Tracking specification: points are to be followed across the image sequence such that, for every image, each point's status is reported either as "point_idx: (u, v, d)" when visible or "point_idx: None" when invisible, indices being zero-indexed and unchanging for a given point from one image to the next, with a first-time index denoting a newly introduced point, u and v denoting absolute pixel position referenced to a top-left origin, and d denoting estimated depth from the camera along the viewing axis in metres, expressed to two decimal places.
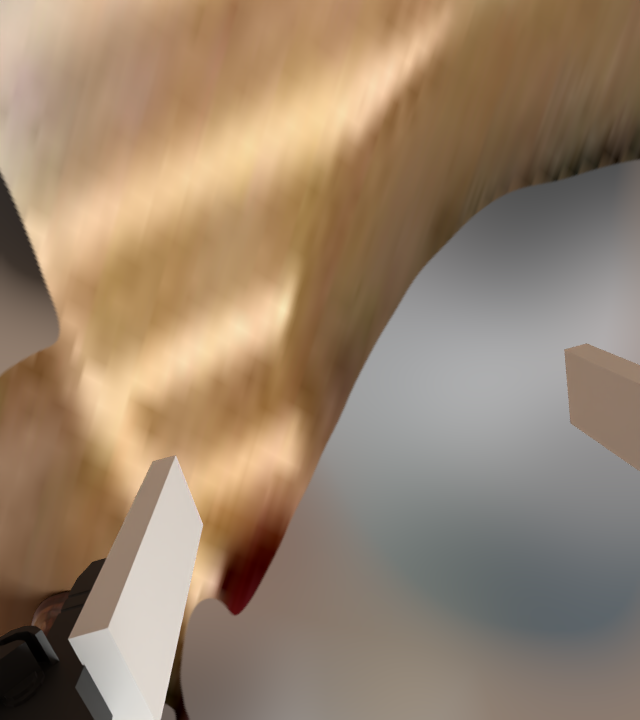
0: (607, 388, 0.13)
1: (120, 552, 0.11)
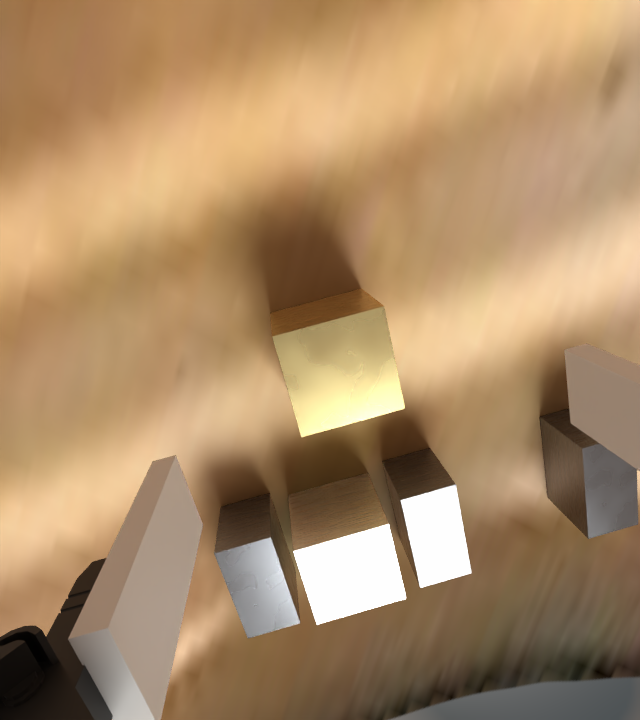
0: (607, 389, 0.13)
1: (120, 552, 0.11)
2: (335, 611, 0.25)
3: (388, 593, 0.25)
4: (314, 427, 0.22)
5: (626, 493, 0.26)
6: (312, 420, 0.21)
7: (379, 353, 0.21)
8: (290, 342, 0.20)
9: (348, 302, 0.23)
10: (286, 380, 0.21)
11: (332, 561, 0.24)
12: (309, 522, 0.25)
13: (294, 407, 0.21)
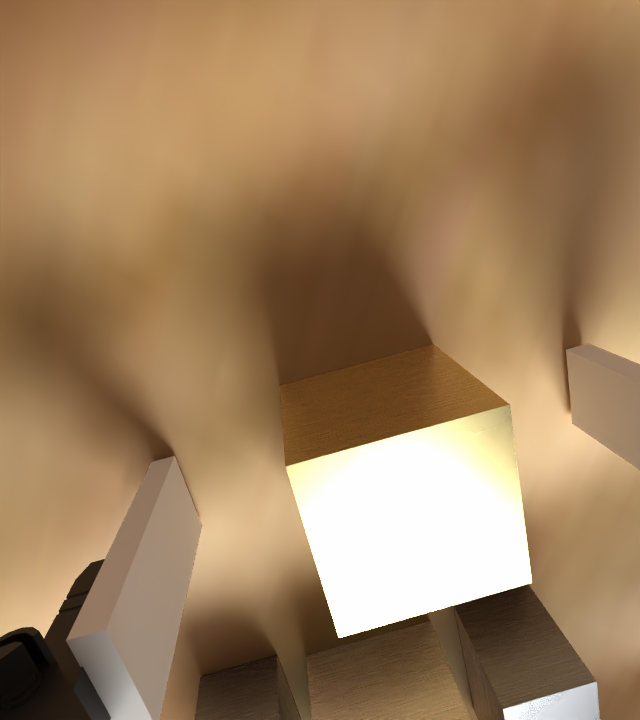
0: (609, 388, 0.13)
1: (118, 553, 0.11)
2: None
3: None
4: (364, 621, 0.11)
5: None
6: (360, 609, 0.11)
7: (493, 490, 0.11)
8: (321, 476, 0.10)
9: (422, 379, 0.12)
10: (312, 544, 0.11)
11: None
12: None
13: (326, 589, 0.11)
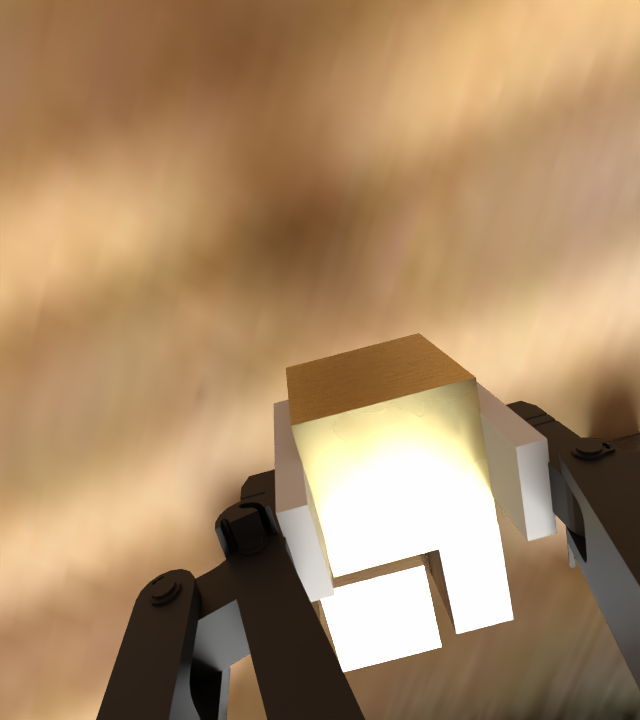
0: None
1: (285, 461, 0.13)
2: (363, 658, 0.23)
3: (421, 640, 0.23)
4: (355, 562, 0.14)
5: None
6: (352, 552, 0.13)
7: (463, 450, 0.13)
8: (320, 435, 0.12)
9: (407, 360, 0.15)
10: (312, 493, 0.13)
11: (361, 605, 0.22)
12: None
13: (324, 533, 0.13)
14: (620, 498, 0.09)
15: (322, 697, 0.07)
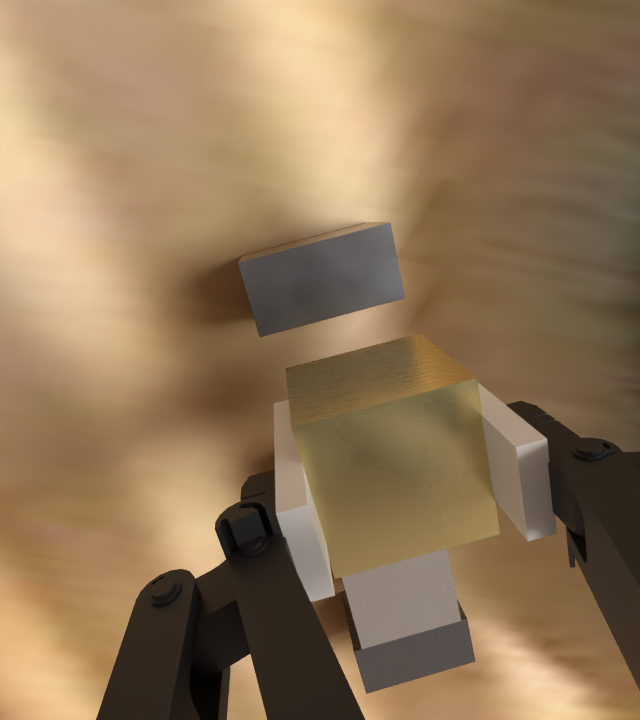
0: None
1: (285, 461, 0.13)
2: (447, 605, 0.22)
3: (433, 556, 0.21)
4: (356, 564, 0.14)
5: (335, 254, 0.18)
6: (352, 554, 0.13)
7: (464, 451, 0.13)
8: (321, 436, 0.12)
9: (408, 361, 0.15)
10: (313, 495, 0.13)
11: (380, 614, 0.22)
12: None
13: (324, 535, 0.13)
14: (620, 498, 0.09)
15: (322, 697, 0.07)
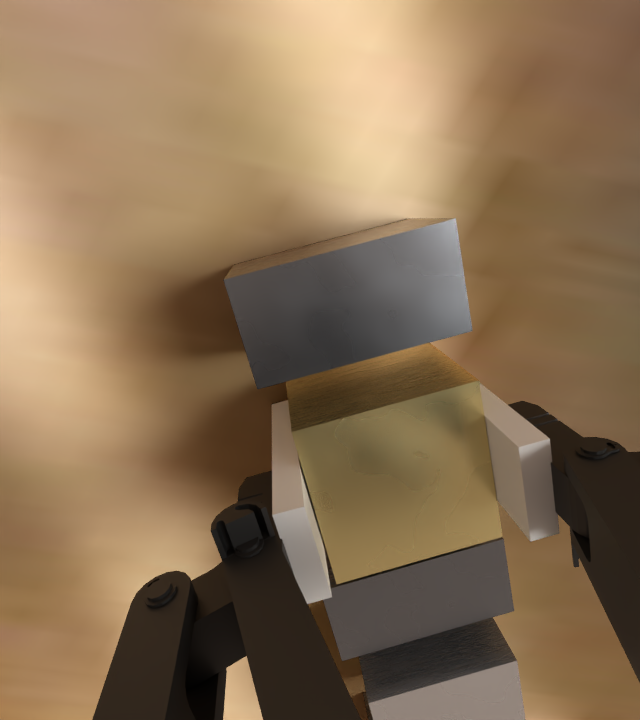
0: None
1: (282, 462, 0.13)
2: None
3: (500, 685, 0.15)
4: (358, 569, 0.13)
5: (372, 267, 0.12)
6: (354, 559, 0.13)
7: (466, 454, 0.13)
8: (321, 440, 0.12)
9: (408, 363, 0.14)
10: (314, 500, 0.13)
11: None
12: None
13: (326, 540, 0.13)
14: (624, 498, 0.09)
15: (319, 698, 0.07)
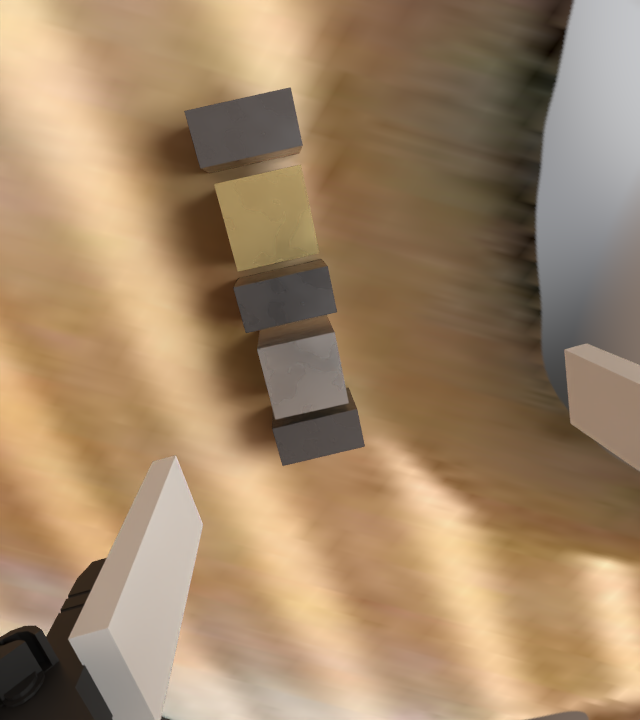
0: (607, 388, 0.13)
1: (120, 552, 0.11)
2: (338, 389, 0.31)
3: (326, 347, 0.30)
4: (248, 264, 0.28)
5: (252, 109, 0.26)
6: (246, 257, 0.28)
7: (297, 203, 0.27)
8: (228, 190, 0.26)
9: None
10: (225, 221, 0.27)
11: (288, 391, 0.31)
12: None
13: (232, 245, 0.27)
14: None
15: None
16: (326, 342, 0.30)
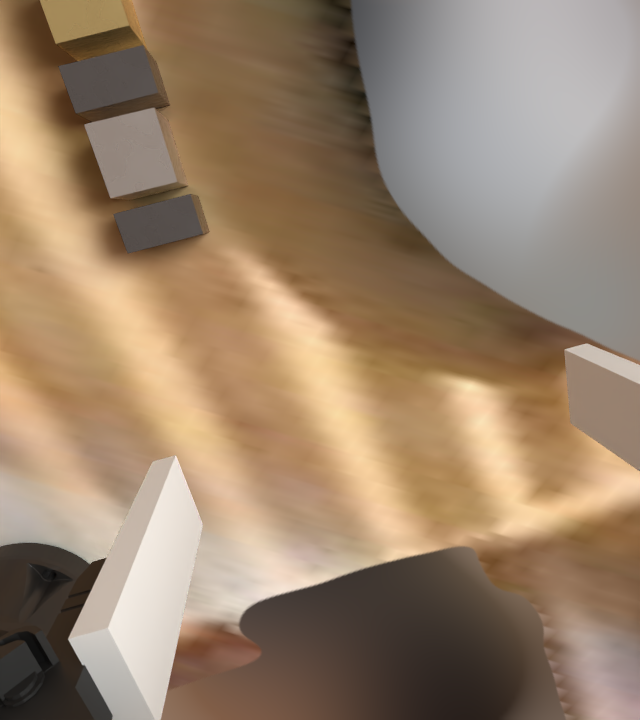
0: (607, 388, 0.13)
1: (120, 552, 0.11)
2: (165, 167, 0.34)
3: (149, 123, 0.33)
4: (64, 35, 0.31)
5: None
6: (61, 29, 0.31)
7: None
8: None
9: None
10: None
11: (119, 169, 0.34)
12: None
13: (47, 17, 0.31)
14: None
15: None
16: (148, 118, 0.33)
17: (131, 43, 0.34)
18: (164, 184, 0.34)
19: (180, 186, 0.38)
